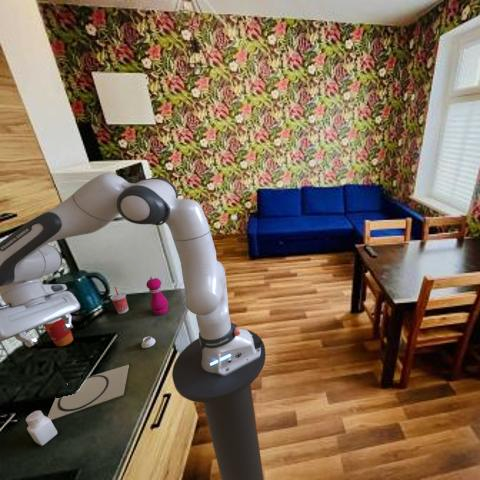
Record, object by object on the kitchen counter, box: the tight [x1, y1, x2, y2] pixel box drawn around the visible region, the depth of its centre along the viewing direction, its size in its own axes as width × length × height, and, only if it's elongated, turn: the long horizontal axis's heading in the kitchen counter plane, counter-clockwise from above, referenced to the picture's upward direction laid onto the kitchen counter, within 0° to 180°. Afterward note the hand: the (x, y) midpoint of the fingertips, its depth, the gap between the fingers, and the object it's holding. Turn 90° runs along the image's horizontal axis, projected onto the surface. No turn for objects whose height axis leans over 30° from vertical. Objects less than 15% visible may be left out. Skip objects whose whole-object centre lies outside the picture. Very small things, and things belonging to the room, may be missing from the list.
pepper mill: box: [146, 275, 169, 316], centre depth 129 cm, size 7×7×20 cm
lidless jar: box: [141, 336, 156, 349], centre depth 111 cm, size 5×3×5 cm
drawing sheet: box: [47, 364, 130, 421], centre depth 92 cm, size 20×14×1 cm
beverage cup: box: [109, 286, 130, 315], centre depth 130 cm, size 6×6×14 cm
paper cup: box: [42, 318, 74, 348], centre depth 110 cm, size 8×8×14 cm
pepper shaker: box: [25, 409, 58, 446], centre depth 76 cm, size 4×4×10 cm
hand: (52, 336), depth 81 cm, fingers open, 8 cm apart
